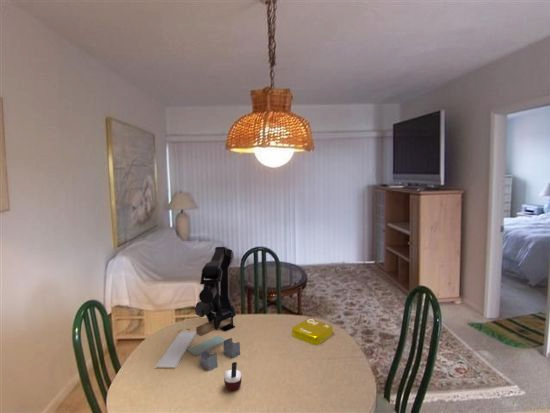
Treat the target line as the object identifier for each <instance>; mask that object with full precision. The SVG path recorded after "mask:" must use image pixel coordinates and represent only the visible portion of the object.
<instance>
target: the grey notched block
mask: <svg viewBox="0 0 550 413" xmlns="http://www.w3.org/2000/svg"><path fill="white" fill-rule="evenodd" d="M210 351H211V349H210V350H209V349H206V350H204V351H201V352H200V354H199V361H200V363H199V364H200V366H201V367H202V368H203V369H205V370H207V371H208V372H210V371H213V370H214V369H216V368H218V354H217V352H214V353H211V352H210Z"/></svg>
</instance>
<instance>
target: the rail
mask: <svg viewBox="0 0 550 413" xmlns="http://www.w3.org/2000/svg"><path fill="white" fill-rule="evenodd" d="M230 323H231V317H230V318H228V319H226V320H223V321H221V324H220V326H219V328H221V327H223V326H225V325H227V324H230ZM219 328H218V329H219ZM214 331H216V330H215V325H214V320H212V321H210V322H208V321H207V322H205V323H203V324H201V325H198V326H196V328H195V332H196V336H199V337H202V336H206V335H207V334H209V333H211V332H214Z"/></svg>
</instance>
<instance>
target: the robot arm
mask: <svg viewBox="0 0 550 413" xmlns="http://www.w3.org/2000/svg"><path fill="white" fill-rule="evenodd" d="M233 260H234V252H233V250H232V249H230V248H227V247H226V246H216V247H215V248H214V252H213V255H212V258H211V259H210V261H209V262H207V263H205V265H204V266H203V268H202V269H201V275H200V276H201V277H200V282H199V284H200V285H203V288H202V289H201V291H200V292H199V294H198V297H199V301H197V303H196V304H195V306H194V308H193V310H194V313H195V314H196V316H198V317H199V318H204V317H205V316H206V319H207V323H208V322H210V321H212V320H214V325H215V330H214V331H217V330H222V331H224V332H228V331H230V330H231V329H234V328H236V326H235V325H234V317H236V308H235V305H234V303H233V301H234V300H232V298H231V297H230V266H231V265H232V263H233ZM230 317H231V323H230V324H227V325H225V326H223V327H221V328H219V326H220V324H221V321H223V320H226V319H228V318H230Z"/></svg>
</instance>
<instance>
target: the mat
mask: <svg viewBox="0 0 550 413" xmlns="http://www.w3.org/2000/svg"><path fill="white" fill-rule="evenodd" d="M225 340H227V339H226V338H224V337H222V336H220V335H215V336H214V337H210V338H209V339H206V340H204V341H202V342H200V343H198V344H194V345H193V346H191V347H190V346H189V347H188V349H187V350H186V352H188V353H190V354H191V353H192V355H194V356H195V357H197V356H200V352H201V351H204V350H206V349H209V350H210V351H211V350H212V349H214V348H216V347H218V346H220V344H221V345H222V343H223V344H224V341H225Z"/></svg>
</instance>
